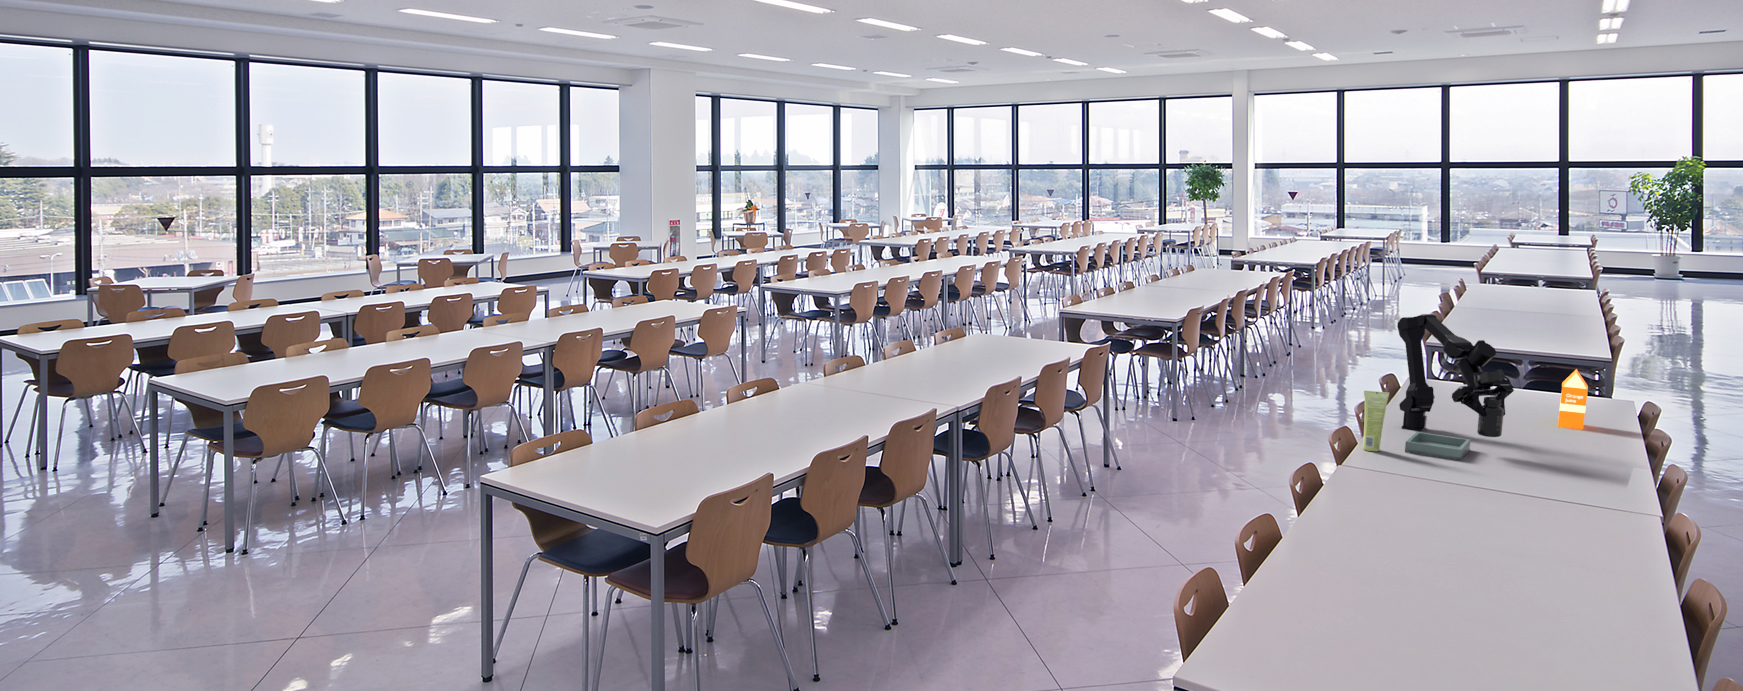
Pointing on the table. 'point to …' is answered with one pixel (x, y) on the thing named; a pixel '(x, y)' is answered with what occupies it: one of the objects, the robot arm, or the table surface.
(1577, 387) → the orange juice
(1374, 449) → the tube
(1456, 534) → the table surface
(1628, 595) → the table surface
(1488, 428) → the supplement bottle
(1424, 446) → the tray
